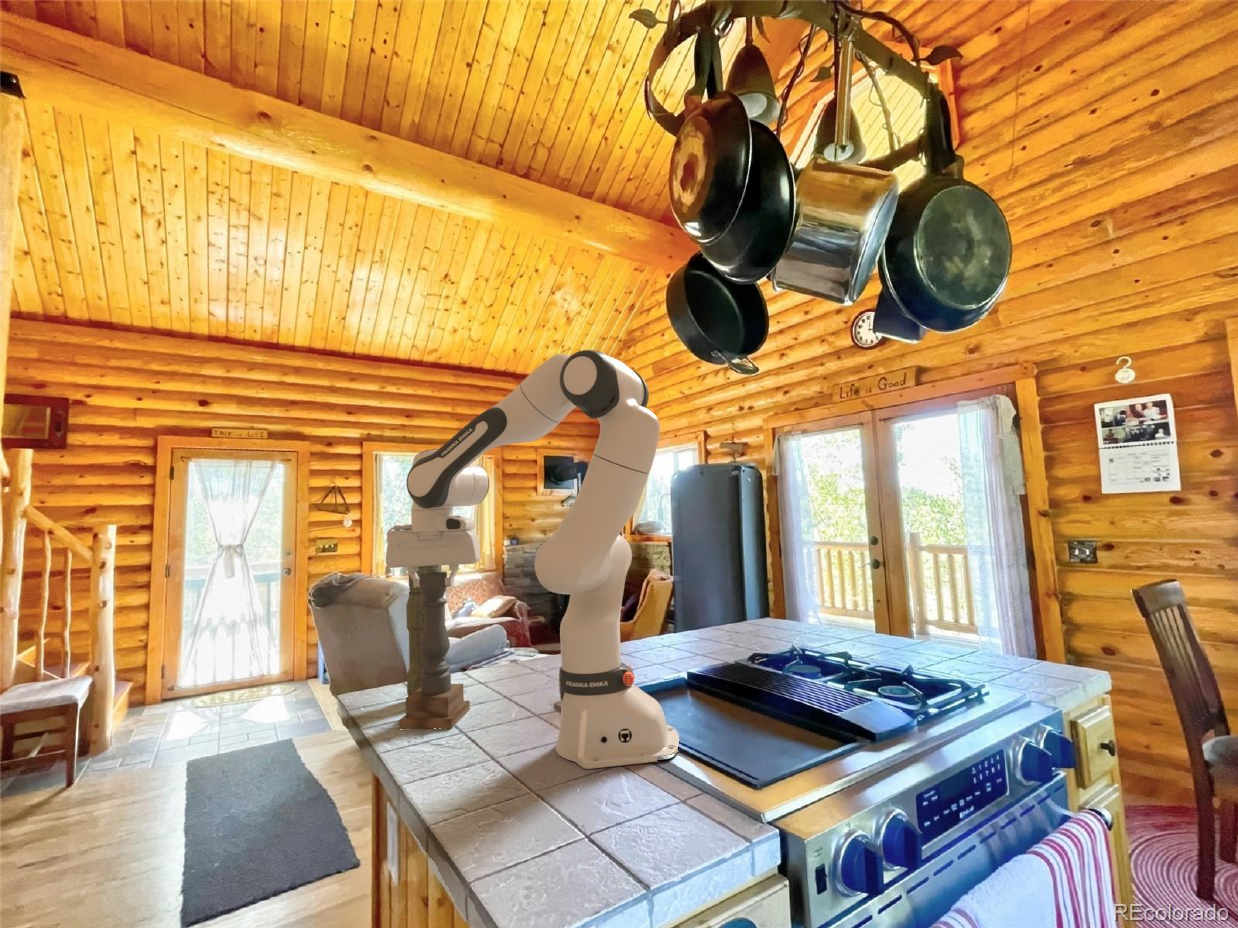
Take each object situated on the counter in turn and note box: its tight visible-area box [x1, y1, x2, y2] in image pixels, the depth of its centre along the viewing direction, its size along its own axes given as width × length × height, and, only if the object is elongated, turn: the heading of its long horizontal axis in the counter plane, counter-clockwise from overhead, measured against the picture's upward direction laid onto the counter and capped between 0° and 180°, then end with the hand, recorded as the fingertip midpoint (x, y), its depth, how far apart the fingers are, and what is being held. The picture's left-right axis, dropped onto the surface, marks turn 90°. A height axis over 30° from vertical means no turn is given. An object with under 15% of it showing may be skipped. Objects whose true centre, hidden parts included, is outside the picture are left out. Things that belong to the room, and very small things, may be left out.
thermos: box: [405, 565, 446, 697], centre depth 132 cm, size 9×12×35 cm
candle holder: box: [420, 571, 452, 695], centre depth 120 cm, size 6×6×25 cm
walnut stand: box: [398, 683, 471, 730], centre depth 118 cm, size 11×11×6 cm
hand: (433, 586), depth 120 cm, fingers closed on candle holder, 6 cm apart
